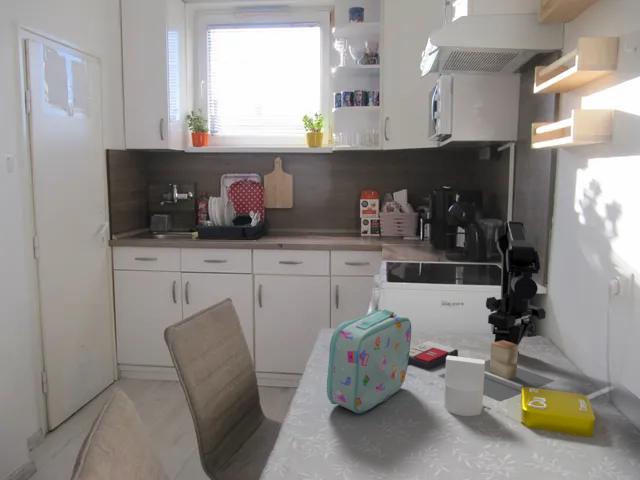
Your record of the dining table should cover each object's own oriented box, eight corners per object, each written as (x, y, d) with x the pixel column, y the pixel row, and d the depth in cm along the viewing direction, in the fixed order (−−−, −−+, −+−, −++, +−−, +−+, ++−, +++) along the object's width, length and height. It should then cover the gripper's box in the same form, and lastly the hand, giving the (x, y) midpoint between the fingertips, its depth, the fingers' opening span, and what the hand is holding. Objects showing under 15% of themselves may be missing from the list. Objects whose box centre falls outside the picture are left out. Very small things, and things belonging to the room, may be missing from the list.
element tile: (595, 440, 121) (596, 418, 120) (521, 428, 125) (522, 408, 125) (586, 411, 135) (587, 392, 134) (520, 402, 139) (521, 383, 139)
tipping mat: (492, 361, 167) (492, 355, 166) (554, 383, 151) (555, 376, 150) (437, 378, 153) (438, 371, 152) (499, 404, 137) (500, 396, 136)
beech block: (500, 371, 157) (502, 340, 156) (516, 376, 153) (518, 344, 152) (489, 374, 154) (491, 343, 153) (504, 380, 150) (507, 348, 149)
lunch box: (378, 376, 153) (380, 300, 150) (412, 385, 147) (415, 306, 144) (321, 410, 132) (323, 321, 129) (358, 422, 126) (361, 330, 123)
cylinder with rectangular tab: (483, 403, 137) (485, 356, 136) (480, 418, 129) (484, 368, 127) (445, 397, 140) (448, 351, 139) (441, 412, 132) (443, 363, 130)
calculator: (397, 351, 164) (428, 338, 174) (397, 365, 165) (428, 351, 175) (428, 361, 156) (458, 347, 166) (428, 375, 157) (458, 361, 167)
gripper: (513, 282, 165) (510, 333, 167) (473, 289, 154) (470, 344, 156) (548, 289, 156) (544, 343, 158) (508, 297, 145) (504, 355, 147)
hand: (515, 346), depth 155 cm, fingers closed
